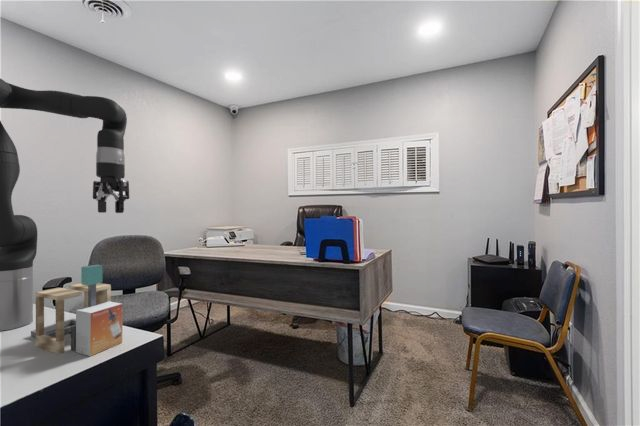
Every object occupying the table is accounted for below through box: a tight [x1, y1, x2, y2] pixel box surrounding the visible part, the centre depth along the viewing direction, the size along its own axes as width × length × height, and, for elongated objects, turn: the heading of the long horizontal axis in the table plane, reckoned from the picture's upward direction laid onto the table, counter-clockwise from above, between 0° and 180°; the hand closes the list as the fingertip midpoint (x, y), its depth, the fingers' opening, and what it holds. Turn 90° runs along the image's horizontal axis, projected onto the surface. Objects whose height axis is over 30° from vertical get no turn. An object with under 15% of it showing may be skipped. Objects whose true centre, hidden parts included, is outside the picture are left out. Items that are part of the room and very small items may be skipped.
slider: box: [70, 264, 103, 352], centre depth 74 cm, size 2×9×20 cm, turn 159°
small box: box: [75, 301, 124, 357], centre depth 73 cm, size 8×6×10 cm
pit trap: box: [30, 318, 76, 339], centre depth 82 cm, size 7×10×2 cm
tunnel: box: [35, 282, 112, 355], centre depth 77 cm, size 10×12×14 cm
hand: (110, 212), depth 94 cm, fingers open, 8 cm apart
